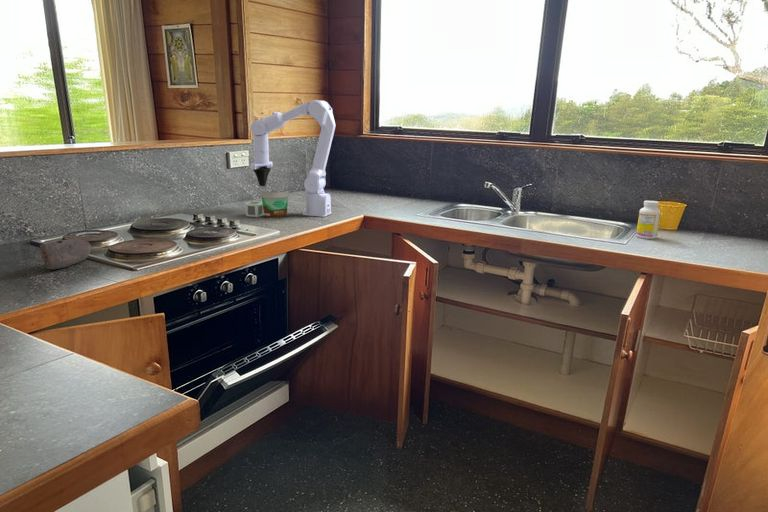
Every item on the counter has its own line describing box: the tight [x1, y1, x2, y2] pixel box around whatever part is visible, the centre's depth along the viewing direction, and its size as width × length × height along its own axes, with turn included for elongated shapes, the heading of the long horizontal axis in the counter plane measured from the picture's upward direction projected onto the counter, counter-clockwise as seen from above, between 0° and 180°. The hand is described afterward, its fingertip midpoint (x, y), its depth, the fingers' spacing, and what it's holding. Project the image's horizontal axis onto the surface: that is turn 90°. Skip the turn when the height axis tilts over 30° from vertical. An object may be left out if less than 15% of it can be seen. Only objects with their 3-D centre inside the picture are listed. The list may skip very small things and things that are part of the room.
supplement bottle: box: [635, 200, 661, 240], centre depth 184 cm, size 7×7×13 cm
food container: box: [259, 189, 291, 219], centre depth 203 cm, size 12×6×10 cm, turn 135°
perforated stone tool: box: [39, 238, 92, 271], centre depth 135 cm, size 15×5×7 cm, turn 163°
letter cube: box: [244, 201, 264, 218], centre depth 205 cm, size 5×5×5 cm
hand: (262, 185), depth 211 cm, fingers closed
